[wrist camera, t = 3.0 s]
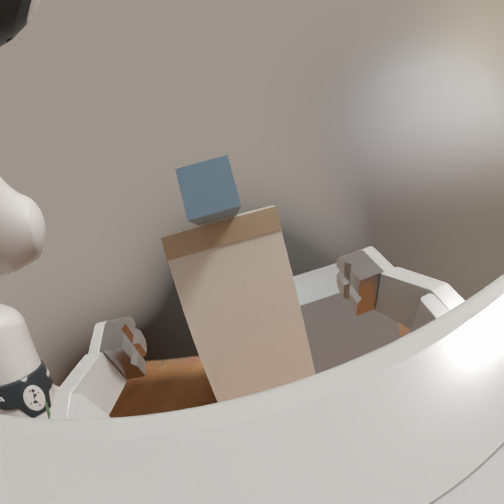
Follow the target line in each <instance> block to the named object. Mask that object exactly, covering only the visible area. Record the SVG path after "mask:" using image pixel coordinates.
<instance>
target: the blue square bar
mask: <svg viewBox="0 0 504 504" xmlns="http://www.w3.org/2000/svg"><path fill="white" fill-rule="evenodd" d="M176 174H177V178H178V182H179V187H180V191H181V194H182V199H183V203H184V207H185V211H186V215H187V219H188V221H190V222H193V223H195V224H197V225H201V224H204V223H208V222H212V221H215V220H219V219H222V218H226V217H230V216H234V215H237V213H238V211H239V209H240V207H241V204H240V200H239V196H238V193H237V189H236V185H235V182H234V178H233V175H232V171H231V167H230V163H229V159H228V156H222V157H218V158H215V159H211V160H207V161H204V162H200V163H196V164H192V165H189V166H185V167H182V168H179V169H176Z"/></svg>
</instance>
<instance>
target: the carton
mask: <svg viewBox="0 0 504 504" xmlns="http://www.w3.org/2000/svg"><path fill="white" fill-rule="evenodd" d="M281 229H282V227H281V224H280V220H279V216H278V212H277V209H276V207H275V206H274V205H272V206H268V207H264V208H260V209H256V210H252V211H249V212H245V213H241V214H237V215H234V216H230V217H226V218H222V219H219V220H215V221H212V222H208V223H204V224H201V225H197V226H194V227H190V228H187V229H183V230H180V231H176V232H173V233H170V234H166V235H163V236H162V238H161V240H162V244H163V247H164V251H165V255H166V258H167V260H168V261H169V265H170V268H171V272H172V275H173V279H174V282H175V285H176V289H177V291H178V295H179V298H180V301H181V304H182V308H183V311H184V313H185V316H186V320H187V323H188V325H189V328H190V331H191V334H192V337H193V340H194V343H195V345H196V348H197V351H198V354H199V356H200V359H201V362H202V364H203V367H204V370H205V372H206V375H207V377H208V380H209V382H210V385H211V387H212V390H213V392H214V395H215V397H216V400H217V402H222V401H227V400H231V399H235V398H239V397H243V396H247V395H251V394H255V393H258V392H262V391H265V390H269V389H272V388H276V387H279V386H282V385H285V384H288V383H292V382H295V381H298V380H301V379H303V378H306V377H309V376H312V375H315V369H314V365H313V360H312V356H311V351H310V346H309V342H308V338H307V333H306V329H305V324H304V320H303V316H302V312H301V307H300V303H299V299H298V295H297V291H296V287H295V283H294V279H293V274H292V270H291V267H290V263H289V259H288V255H287V251H286V248H285V243H284V239H283V236H282V232H281Z"/></svg>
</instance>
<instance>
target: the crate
mask: <svg viewBox="0 0 504 504" xmlns="http://www.w3.org/2000/svg"><path fill="white" fill-rule="evenodd" d="M338 272H339V269H338V268H337V263H336V264H332V265H330V266H326V267H323V268H320V269H317V270H313V271H310V272H307V273H303V274H300V275H297V276H293V279H294V283H295V287H296V291H297V295H298V299H299V303H300V307H301V312H302V316H303V320H304V324H305V329H306V333H307V338H308V342H309V346H310V351H311V356H312V360H313V365H314V369H315V374H318V373H320V372H323V371H326V370H328V369H331V368H334V367H336V366H339V365H341V364H344V363H346V362H348V361H351V360H353V359H356V358H358V357H360V356H363V355H365V354H367V353H369V352H372V351H374V350H376V349H378V348H380V347H383V346H385V345H387V344H389V343H391V342H393V341H395V340H397V339H399V329H398V322H396V321H394V320H392V319H391V318H389V317H387V316H385V315H383V314H381V313H379V312H377V311H376V310H375V309H374V310H371V311H369V312H366V313H364V314H361V315H358V316H356V315H355V313H354V312H353V311H352V309H351V308H350V306H349V300H348V299H346V298H344V297H343V296H342V295H341V293H340V291H339V289H338V285H337V276H336V275H337V274H338Z"/></svg>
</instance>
